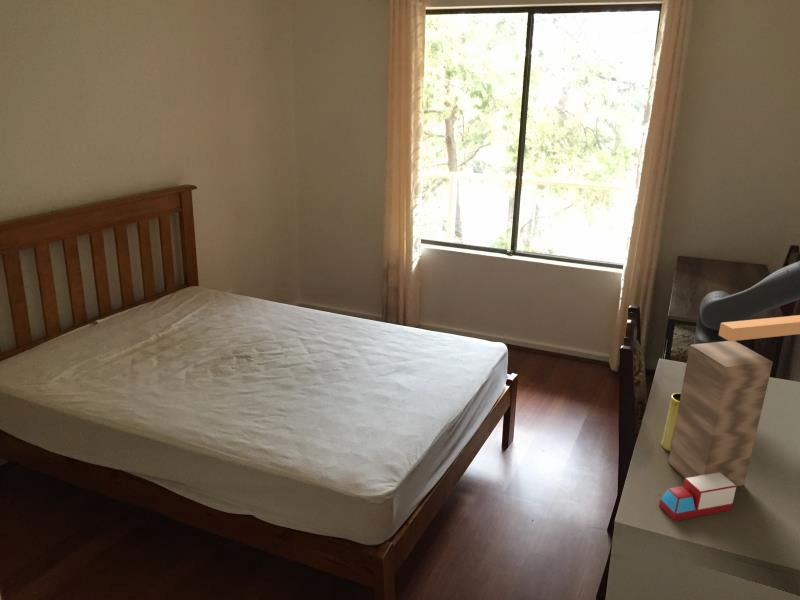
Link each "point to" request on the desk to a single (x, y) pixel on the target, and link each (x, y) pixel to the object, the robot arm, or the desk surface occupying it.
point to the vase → (671, 421)
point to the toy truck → (699, 497)
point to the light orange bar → (760, 328)
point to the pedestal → (719, 410)
